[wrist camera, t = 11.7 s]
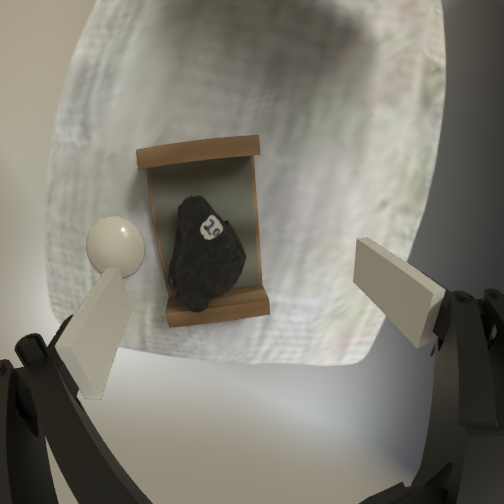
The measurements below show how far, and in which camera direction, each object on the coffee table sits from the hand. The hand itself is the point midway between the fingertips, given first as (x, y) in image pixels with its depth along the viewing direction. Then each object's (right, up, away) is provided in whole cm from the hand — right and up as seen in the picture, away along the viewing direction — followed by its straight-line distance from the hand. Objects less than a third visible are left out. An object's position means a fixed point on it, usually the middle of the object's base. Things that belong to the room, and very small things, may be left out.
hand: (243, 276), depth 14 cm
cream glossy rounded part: (-17, +2, +17) cm, 24 cm away
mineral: (-5, +2, +18) cm, 18 cm away
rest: (-5, +4, +18) cm, 19 cm away
